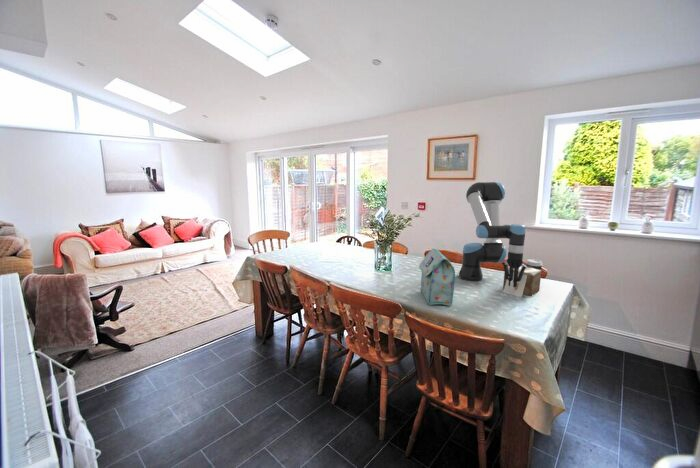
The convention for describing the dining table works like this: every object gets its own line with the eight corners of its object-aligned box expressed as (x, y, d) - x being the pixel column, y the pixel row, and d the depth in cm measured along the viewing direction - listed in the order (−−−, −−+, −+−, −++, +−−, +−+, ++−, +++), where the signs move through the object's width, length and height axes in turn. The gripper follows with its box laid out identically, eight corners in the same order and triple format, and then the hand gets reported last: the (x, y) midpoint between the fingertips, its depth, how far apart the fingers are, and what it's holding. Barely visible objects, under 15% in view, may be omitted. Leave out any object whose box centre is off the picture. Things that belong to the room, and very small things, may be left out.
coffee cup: (543, 286, 196) (545, 263, 194) (526, 285, 198) (528, 262, 196) (537, 281, 206) (539, 259, 203) (521, 280, 208) (523, 258, 205)
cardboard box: (502, 288, 193) (504, 268, 191) (511, 284, 201) (513, 264, 199) (531, 296, 181) (533, 274, 179) (539, 291, 189) (541, 270, 187)
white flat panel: (503, 292, 188) (503, 292, 187) (509, 271, 189) (508, 271, 188) (521, 297, 180) (521, 297, 179) (527, 275, 181) (526, 275, 180)
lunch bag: (417, 291, 190) (418, 247, 185) (444, 291, 190) (447, 247, 185) (424, 306, 167) (426, 257, 163) (456, 307, 167) (459, 257, 162)
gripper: (500, 250, 181) (497, 290, 185) (525, 255, 171) (521, 296, 175) (506, 249, 185) (503, 287, 190) (530, 253, 176) (526, 293, 180)
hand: (511, 291), depth 182 cm, fingers closed
